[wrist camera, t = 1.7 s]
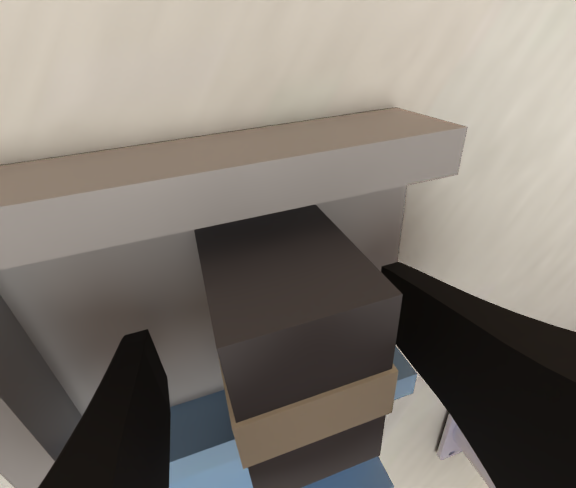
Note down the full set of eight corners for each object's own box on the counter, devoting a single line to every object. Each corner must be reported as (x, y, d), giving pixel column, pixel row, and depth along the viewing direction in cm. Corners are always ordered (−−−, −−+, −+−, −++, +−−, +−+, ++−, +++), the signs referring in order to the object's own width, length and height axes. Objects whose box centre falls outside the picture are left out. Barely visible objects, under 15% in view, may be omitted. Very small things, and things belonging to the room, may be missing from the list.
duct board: (396, 107, 11) (522, 141, 7) (364, 443, 21) (408, 529, 17) (-111, 181, 8) (-362, 311, 4) (144, 531, 18) (140, 656, 14)
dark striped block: (317, 203, 10) (410, 296, 6) (321, 341, 13) (384, 457, 10) (190, 229, 9) (211, 355, 6) (225, 370, 13) (255, 511, 9)
